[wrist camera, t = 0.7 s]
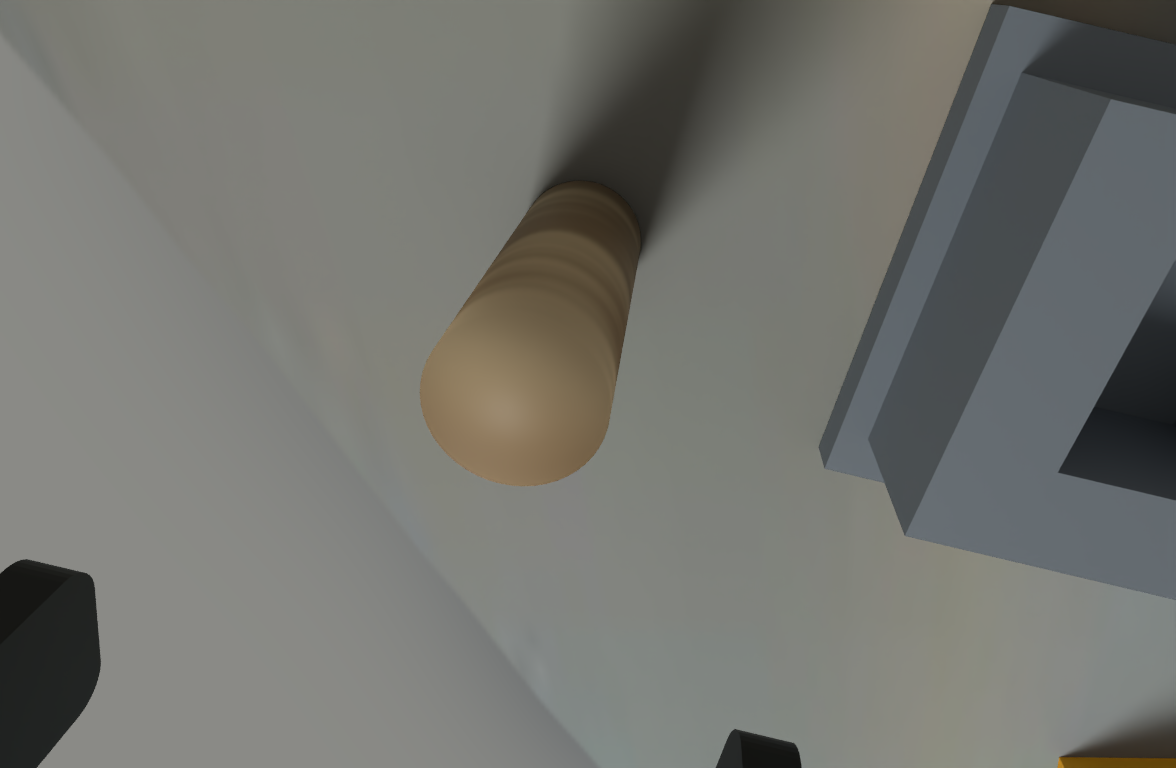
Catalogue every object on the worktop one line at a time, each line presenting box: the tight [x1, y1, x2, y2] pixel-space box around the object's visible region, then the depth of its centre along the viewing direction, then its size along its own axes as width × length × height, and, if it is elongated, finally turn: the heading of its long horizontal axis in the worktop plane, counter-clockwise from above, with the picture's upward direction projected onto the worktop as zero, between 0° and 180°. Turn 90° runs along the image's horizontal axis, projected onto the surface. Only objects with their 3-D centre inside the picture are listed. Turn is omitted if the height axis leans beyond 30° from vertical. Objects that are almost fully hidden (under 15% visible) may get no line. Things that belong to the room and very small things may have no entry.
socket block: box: [819, 4, 1176, 600], centre depth 24 cm, size 15×14×7 cm
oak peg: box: [420, 181, 641, 486], centre depth 23 cm, size 4×4×12 cm
